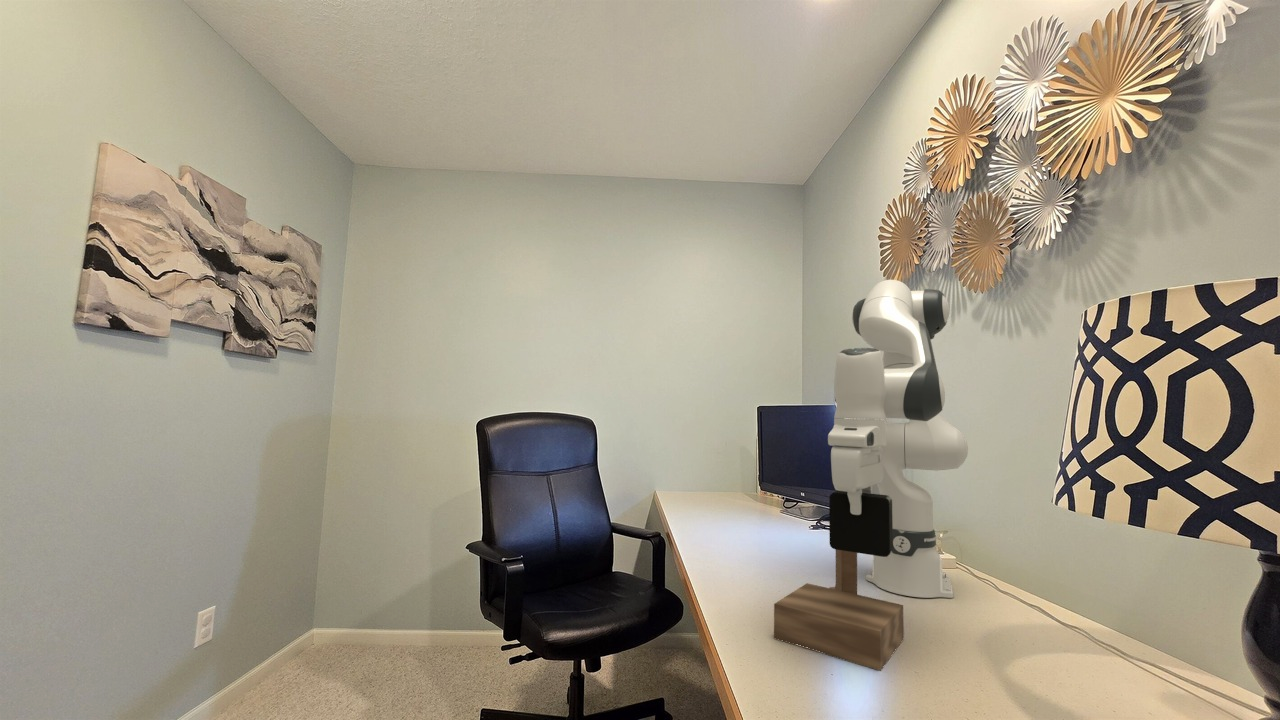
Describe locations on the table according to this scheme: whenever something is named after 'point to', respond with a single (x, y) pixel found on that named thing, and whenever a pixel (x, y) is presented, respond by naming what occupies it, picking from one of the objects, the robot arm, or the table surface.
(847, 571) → the wooden block
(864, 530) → the electronic device
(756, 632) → the table surface
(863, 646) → the walnut box
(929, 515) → the robot arm
